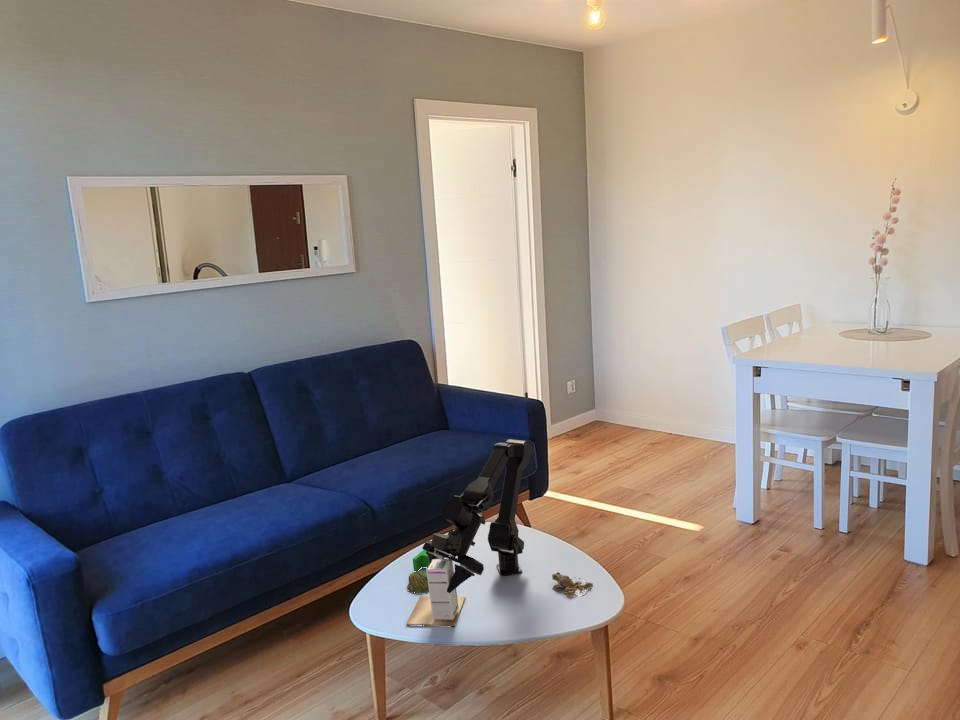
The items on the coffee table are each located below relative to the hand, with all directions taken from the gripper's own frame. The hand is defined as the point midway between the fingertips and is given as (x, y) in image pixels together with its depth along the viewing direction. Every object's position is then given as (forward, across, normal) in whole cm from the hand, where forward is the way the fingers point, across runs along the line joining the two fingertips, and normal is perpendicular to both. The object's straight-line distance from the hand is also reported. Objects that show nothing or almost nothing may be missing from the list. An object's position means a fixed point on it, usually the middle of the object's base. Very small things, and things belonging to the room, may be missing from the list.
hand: (438, 587), depth 193 cm
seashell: (+1, -18, +14) cm, 23 cm away
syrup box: (+5, 0, +7) cm, 9 cm away
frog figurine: (-16, +16, +31) cm, 38 cm away
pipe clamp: (-6, -27, +20) cm, 34 cm away
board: (+5, -4, +8) cm, 11 cm away
